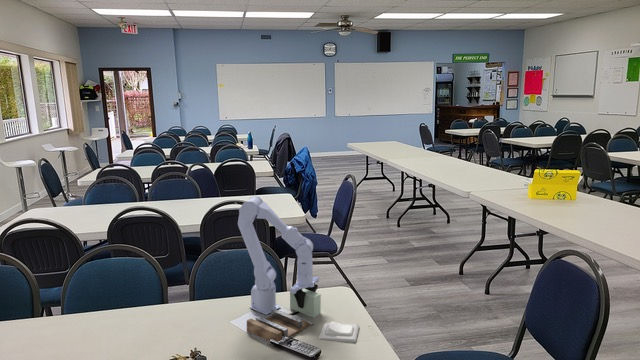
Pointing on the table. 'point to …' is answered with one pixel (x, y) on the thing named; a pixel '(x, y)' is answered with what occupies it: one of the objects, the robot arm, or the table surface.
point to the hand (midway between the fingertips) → (305, 305)
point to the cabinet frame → (276, 326)
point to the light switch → (339, 332)
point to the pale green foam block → (308, 303)
